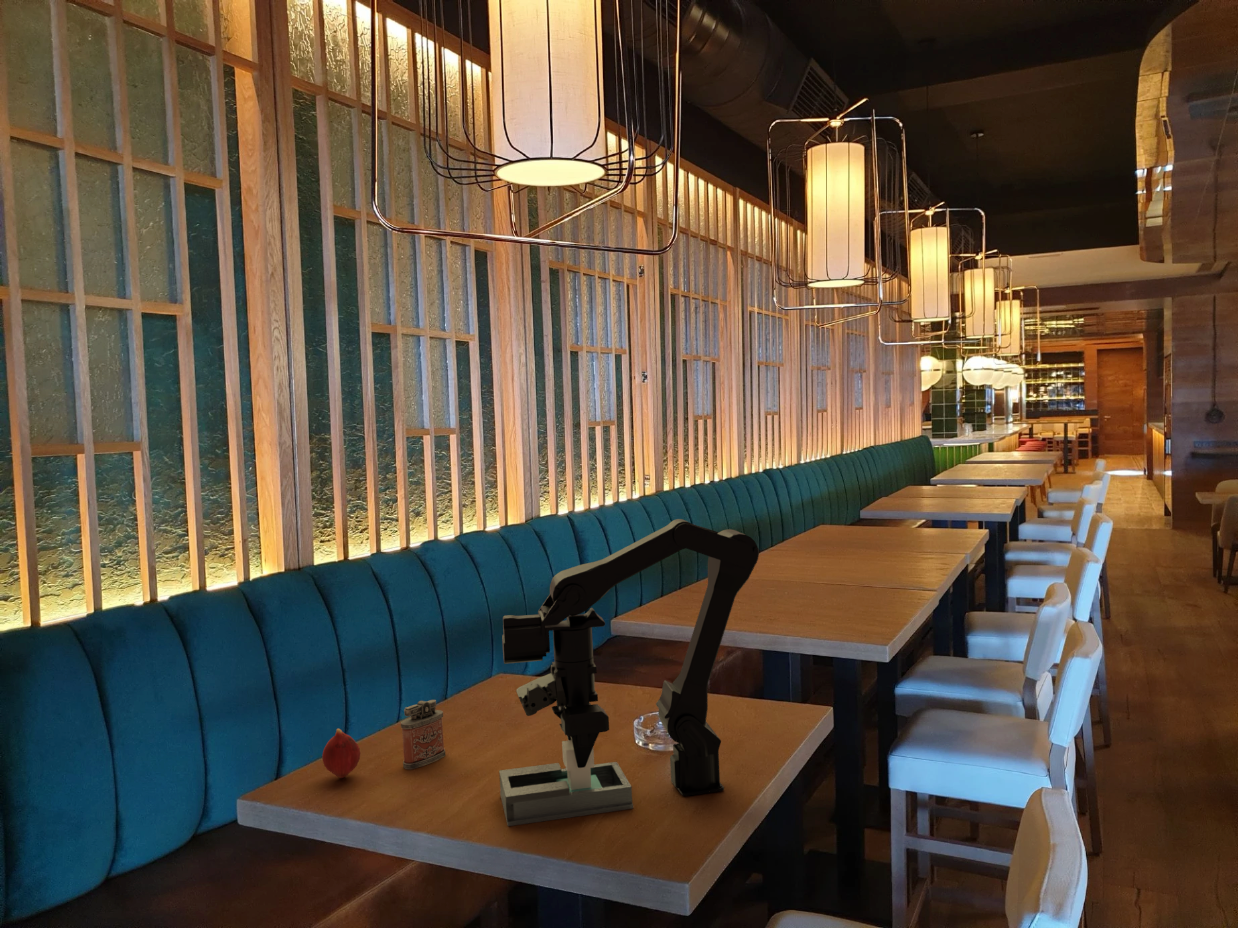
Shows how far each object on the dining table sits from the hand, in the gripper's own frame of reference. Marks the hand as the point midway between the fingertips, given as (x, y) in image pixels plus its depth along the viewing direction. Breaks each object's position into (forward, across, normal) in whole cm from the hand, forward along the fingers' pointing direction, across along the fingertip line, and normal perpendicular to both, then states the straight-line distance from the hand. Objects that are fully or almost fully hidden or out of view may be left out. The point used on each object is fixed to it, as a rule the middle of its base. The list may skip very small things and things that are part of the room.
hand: (578, 761), depth 136 cm
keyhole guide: (+6, 0, -2) cm, 6 cm away
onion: (+6, -21, -35) cm, 42 cm away
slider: (+5, 0, 0) cm, 5 cm away
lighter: (+6, -24, -22) cm, 33 cm away
